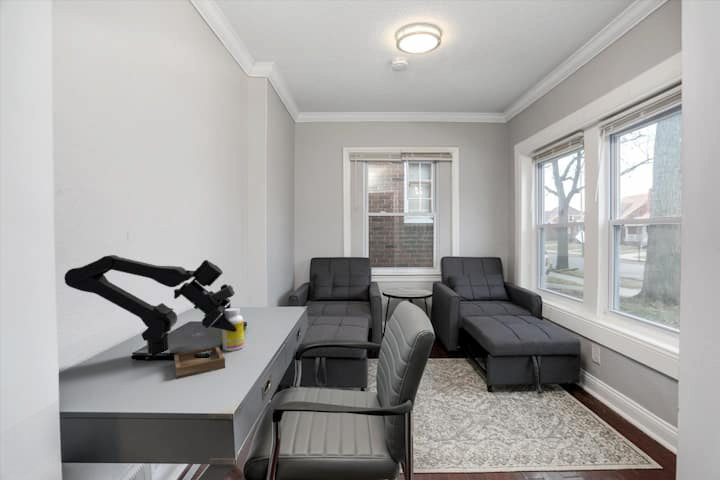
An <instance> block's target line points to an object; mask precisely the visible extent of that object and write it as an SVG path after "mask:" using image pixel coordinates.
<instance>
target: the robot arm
mask: <svg viewBox="0 0 720 480" xmlns="http://www.w3.org/2000/svg"><path fill="white" fill-rule="evenodd" d="M110 271H114V272H115V271H116V272H120V273H125V274H130V275H134V276H139V277H144V278H148V279H151V280H152V281H153V280H154V282H156V283H158V284H160V285H162V286H165V287H168V288H176V287H178V286H180V285H181V284H182V285H181V286H180V288H176V289H174V290H173V293H174V295H173V298H174V300H176V299H178V298H179V297H181V296H183V298H185V299H186V300H187V301H189V303H191V304H192V305H194V306H193V308H194V309H195V310H197V309H198V310H200V311H201V312H202V313H203V314H204V318H202V319H201V325H202V326H203V327H204V328H206V329H208V328H215V329H219V330H222V329H223V330H227V331H231V332H235V331H236V330H237V329H236V327H235V326H234V325H233V324H232V323H231V322H230V321H229V320H228V318H227V317H226V310H225V309H228V308H232V307H231V306H232V305H231V304H232V303H231V299H230V298H231V297H234V295H235V291H234V287H233V286H232V285H231V284H230V285H228V284H226V283H225V284H224V283H223V285H221V286H220V289H219V290H217V291H216V292H214V291H213V290H210V291H208V290H207V289H206V288H205V287H206V286H208V287H210V286H212V285H213V284H214V283H215V282H216V281H217V280H218V278H220V277H221V276H222V274H223V273H224V272H223V270H222V269H221V268H220V267H219V266H218V265H217V264H214V263H212V262H211V261H209V260H208V259H205V260H203V261H202V262H201V264H200V266H198V268H196V269H195V270H187V269H186V268H184V267H183V266H176V265H175V266H174V265H156V264H152V263H147V262H143V261H139V260H138V261H137V260H134V259H129V258H126V257H125V258H124V257H121V256H118V255H115V254H110V255H105V256H102V257H101V258H99V259H97V260H95V261H92V262H90V263H88V264H85V265H83V266H79V267H74V268H70V269H68V270H67V271H65V274H64V283H65V284H66V285H67V287H69V288H72V289H75V290H79V291H80V292H85V293H91V294H95V295H97V296H99V297H100V298H101V297H102V298H103V299H105V300H107V301H109V303H111V304H114V305H116V306H117V307H119V308H121V309H123V310H125V311H127V312H129V313H131V314H132V315H134V316H136V317H138V318H140V320H141V321H142V322H143V324H144V325H145V326H146V327H147V328H146V329H145V330H144V331H143V332H142V333H141V337H142V339H143V341H144V342H147V343H146V344H147V345H146V346H147V347H146V348H147V352H148V353H152V357H146V356H145V361H150V360H157V358H156V356H155V355H156V354H158V353H161V352H164V351H166V350H168V349H169V348H170V346H169V345H170V343H169V340H170V338H169V332H171V331H172V328H173V327H174V326H175V325H176V324H177V321H178V316H177V313H176V312H175V311H174V308H170V307H169V306H167V305H166V304H165V303H162V302H161V303H159V304H157V305H152V304H150V303H148V302H147V301H145V300H143V299H141V298H140V297H137V296H136V295H134V294H132V293H131V292H129V291H127V290H124V289H123V288H121V287H119V286H117V285H115V284H113V283H112V282H110V281H109V280H108V279H107V277H106V276H105V275H106V274H107V273H108V272H110ZM104 274H105V275H104ZM191 279H192V280H191ZM189 280H191V281H190V282H187V281H189ZM224 310H225V311H224Z"/></svg>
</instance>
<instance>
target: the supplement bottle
mask: <svg viewBox="0 0 720 480" xmlns="http://www.w3.org/2000/svg"><path fill="white" fill-rule="evenodd" d="M225 310H226V317H227V318H228V320H229V321H230V322H231V323H232V324H233V325H234V326H235V327H236V329H237V330H236V331H235V332H231V331H227V330H223V329H221V342H222V350H223V351H226V352H233V351H239V350H240V349H241V350H242V349H243V348H244V347H245V340H244V339H245V335H244V334H245V333H244V331H245V330H244V318H243V316H242V315H241V314H240V313H241V310H240V308H239V307H231V308H228V309H225ZM225 310H224V311H225Z"/></svg>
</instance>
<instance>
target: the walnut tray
mask: <svg viewBox="0 0 720 480" xmlns="http://www.w3.org/2000/svg"><path fill="white" fill-rule="evenodd" d="M210 350H211V351H213V355H212V356H211V357H209V358H195V357H194V354H197V353H201V352H206V351H210ZM173 356H174V369H175V375H176V376H175V377H176V379H181V378H185V377H190V376H194V375H199V374H202V373H203V374H204V373H208V372H213V371H216V370H221V369H225V368H226V358H225V356H224V354H223V352H222V351H221V349H220V347H219V345H217V346H212V347H205V348H201V349H197V350H196V349H195V350H191V351H184V352H180V353H174V355H173Z"/></svg>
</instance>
